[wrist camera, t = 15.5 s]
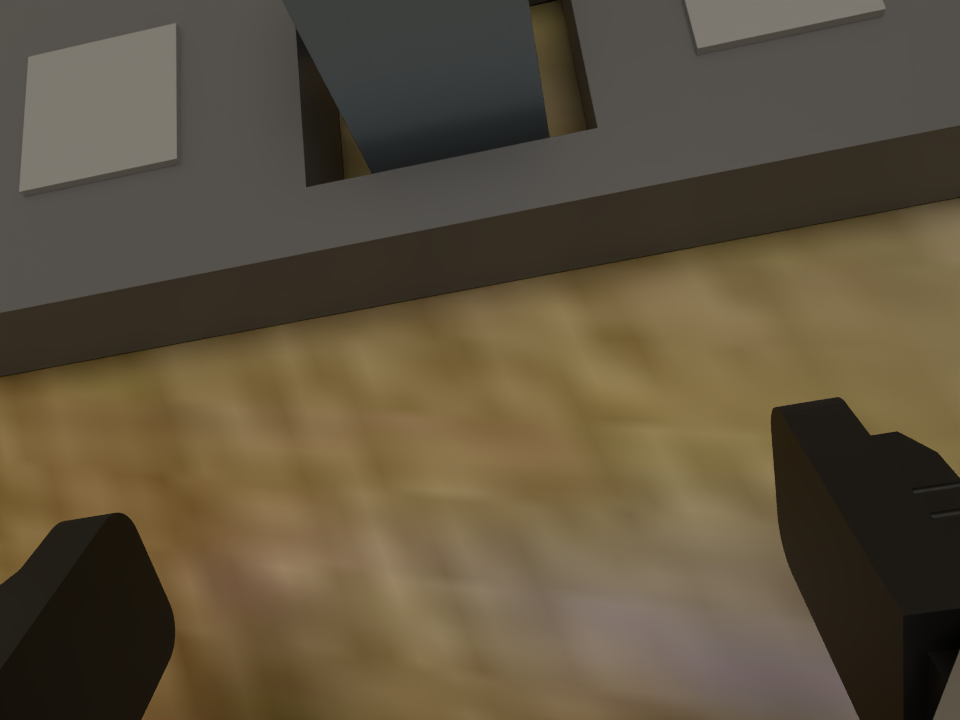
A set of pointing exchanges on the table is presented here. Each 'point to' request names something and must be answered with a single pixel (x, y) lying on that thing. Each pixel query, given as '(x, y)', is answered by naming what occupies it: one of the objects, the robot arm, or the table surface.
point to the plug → (427, 74)
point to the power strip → (434, 185)
